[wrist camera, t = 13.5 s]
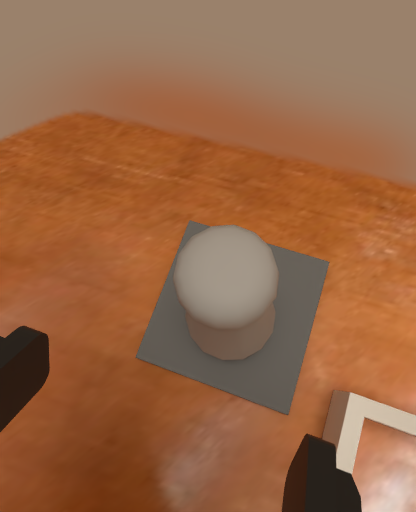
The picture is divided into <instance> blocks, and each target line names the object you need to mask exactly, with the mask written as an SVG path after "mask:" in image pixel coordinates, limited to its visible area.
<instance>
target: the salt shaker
mask: <svg viewBox="0 0 416 512" xmlns="http://www.w3.org/2000/svg"><path fill="white" fill-rule="evenodd" d="M278 280H279V271H278V268H277V265H276V262H275V259H274V256H273V253H272V250H271V248H270V247H269V246H268V245H267V244H266V243H265V242H264V241H263V240H262V239H261V238H260V237H259V236H258V235H257V234H256V233H254V232H252V231H249V230H247V229H244V228H241V227H239V226H236V225H224V226H212V227H210V228H208V229H206V230H204V231H202V232H200V233H198V234H196V235H194V236H192V237H191V238H190V240H189V241H188V242H187V243H186V245H185V246H184V247H183V249H182V250H181V251H180V253H179V254H178V258H177V262H176V266H175V270H174V275H173V281H174V285H175V289H176V293H177V297H178V301H179V303H180V304H181V305H182V306H183V308H184V309H185V310H186V314H185V318H186V321H187V325H188V329H189V333H190V336H191V337H192V338H193V340H194V341H195V342H196V343H197V345H198V346H199V347H200V348H201V350H202V351H203V352H205V353H207V354H210V355H212V356H214V357H217V358H219V359H221V360H238V359H245V358H246V357H248V356H250V355H252V354H253V353H255V352H257V351H259V350H261V349H262V347H263V346H264V344H265V343H266V341H267V340H268V339H269V337H270V336H271V334H272V333H273V328H274V320H275V313H276V312H275V308H274V305H273V301H274V300H275V298H276V296H277V288H278Z"/></svg>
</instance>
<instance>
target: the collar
mask: <svg viewBox="0 0 416 512" xmlns="http://www.w3.org/2000/svg"><path fill="white" fill-rule="evenodd" d="M364 418H366V419H369V420H372V421H374V422H377V423H380V424H383V425H385V426H388V427H391V428H393V429H396V430H399V431H402V432H404V433H407V434H410V435H413V436H415V437H416V416H415V415H413V414H410V413H407V412H404V411H401V410H399V409H396V408H393V407H390V406H387V405H385V404H382V403H379V402H376V401H373V400H371V399H368V398H365V397H362V396H359V395H357V394H354V393H351V392H344V391H336V390H333V394H332V399H331V403H330V407H329V411H328V415H327V419H326V423H325V428H324V432H323V436H322V439H323V440H326V441H328V442H331V443H333V444H335V447H336V468H338V469H340V470H343V471H345V472H348V473H351V475H352V472H353V467H354V462H355V458H356V453H357V448H358V444H359V439H360V434H361V430H362V425H363V420H364Z"/></svg>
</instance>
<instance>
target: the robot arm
mask: <svg viewBox="0 0 416 512" xmlns="http://www.w3.org/2000/svg"><path fill="white" fill-rule="evenodd" d="M48 374H49V340H48V336H47V334H45V333H42V332H40V331H37V330H34V329H32V328H29V327H27V326H21V327H19V328H17V329H16V330H15V331H13V332H12V333H11V334H10V335H8V336H7V337H6V338H3V337H1V336H0V432H1V431H2V430H3V429H4V428H5V427H6V426H7V425H8V423H9V422H10V421H11V420H12V419H13V418H14V417H15V416H16V415H17V414H18V413H19V412H20V410H21V409H22V408H23V407H24V406H25V405H26V404H27V403H28V402H29V401H30V400H31V399H32V397H33V396H34V395H35V394H36V393H37V392H38V391H39V390H40V389H41V388H42V386H43V385H44V383H45V381H46V379H47V377H48ZM282 512H362V509H361V497H360V494H359V492H358V489H357V487H356V485H355V482H354V480H353V477H352V475H351V473H348V472H345V471H343V470H340V469H338V468H336V447H335V444H333V443H331V442H328V441H326V440H323V439H320V438H318V437H315V436H312V435H310V434H306V435H305V436H304V438H303V440H302V442H301V444H300V446H299V449H298V451H297V453H296V455H295V457H294V459H293V461H292V463H291V465H290V467H289V470H288V474H287V477H286V482H285V487H284V496H283V505H282Z"/></svg>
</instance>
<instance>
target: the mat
mask: <svg viewBox="0 0 416 512" xmlns="http://www.w3.org/2000/svg"><path fill="white" fill-rule="evenodd" d="M208 228H210V226H207V225H203V224H200V223H197V222H193V221H189V223H188V226H187V228H186V231H185V233H184V236H183V239H182V241H181V244H180V246H179V249H178V251H177V254H176V256H175V259H174V261H173V264H172V266H171V269H170V271H169V274H168V276H167V279H166V281H165V284H164V287H163V289H162V292H161V294H160V297H159V299H158V302H157V304H156V307H155V309H154V312H153V314H152V317H151V319H150V322H149V324H148V327H147V329H146V332H145V335H144V337H143V340H142V342H141V345H140V347H139V350H138V352H137V355H136V358H139V359H141V360H144V361H146V362H149V363H152V364H154V365H157V366H160V367H162V368H165V369H168V370H170V371H173V372H176V373H178V374H181V375H183V376H186V377H189V378H191V379H194V380H197V381H199V382H202V383H205V384H207V385H210V386H212V387H215V388H218V389H220V390H223V391H226V392H228V393H231V394H234V395H236V396H239V397H242V398H244V399H247V400H249V401H252V402H255V403H257V404H260V405H263V406H265V407H268V408H271V409H273V410H276V411H279V412H281V413H284V414H286V415H288V414H289V410H290V406H291V403H292V399H293V395H294V392H295V388H296V384H297V380H298V377H299V373H300V369H301V366H302V362H303V358H304V354H305V351H306V347H307V343H308V340H309V336H310V332H311V329H312V325H313V321H314V317H315V314H316V310H317V306H318V303H319V299H320V295H321V291H322V288H323V284H324V280H325V277H326V273H327V269H328V265H329V262H328V261H324V260H321V259H318V258H314V257H311V256H308V255H304V254H301V253H298V252H294V251H291V250H287V249H284V248H281V247H277V246H274V245H271V244H267V243H266V244H267V245H268V246H269V247H270V248H271V250H272V253H273V256H274V259H275V262H276V265H277V268H278V271H279V280H278V288H277V296H276V298H275V300H274V301H273V305H274V308H275V312H276V313H275V320H274V328H273V333H272V334H271V336H270V337H269V339H268V340H267V341H266V343H265V344H264V346H263V347H262V349H261V350H259V351H257V352H255V353H253V354H252V355H250V356H248V357H246V358H245V359H238V360H221V359H219V358H217V357H214V356H212V355H210V354H207V353H205V352H203V351H202V350H201V348H200V347H199V346H198V345H197V343H196V342H195V341H194V340H193V338H192V337H191V336H190V333H189V329H188V325H187V321H186V318H185V314H186V310H185V309H184V308H183V306H182V305H181V304H180V303H179V301H178V297H177V293H176V289H175V285H174V281H173V275H174V270H175V266H176V262H177V258H178V254H179V253H180V251H181V250H182V249H183V247H184V246H185V245H186V243H187V242H188V241H189V240H190V238H191V237H192V236H194V235H196V234H198V233H200V232H202V231H204V230H206V229H208Z"/></svg>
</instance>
